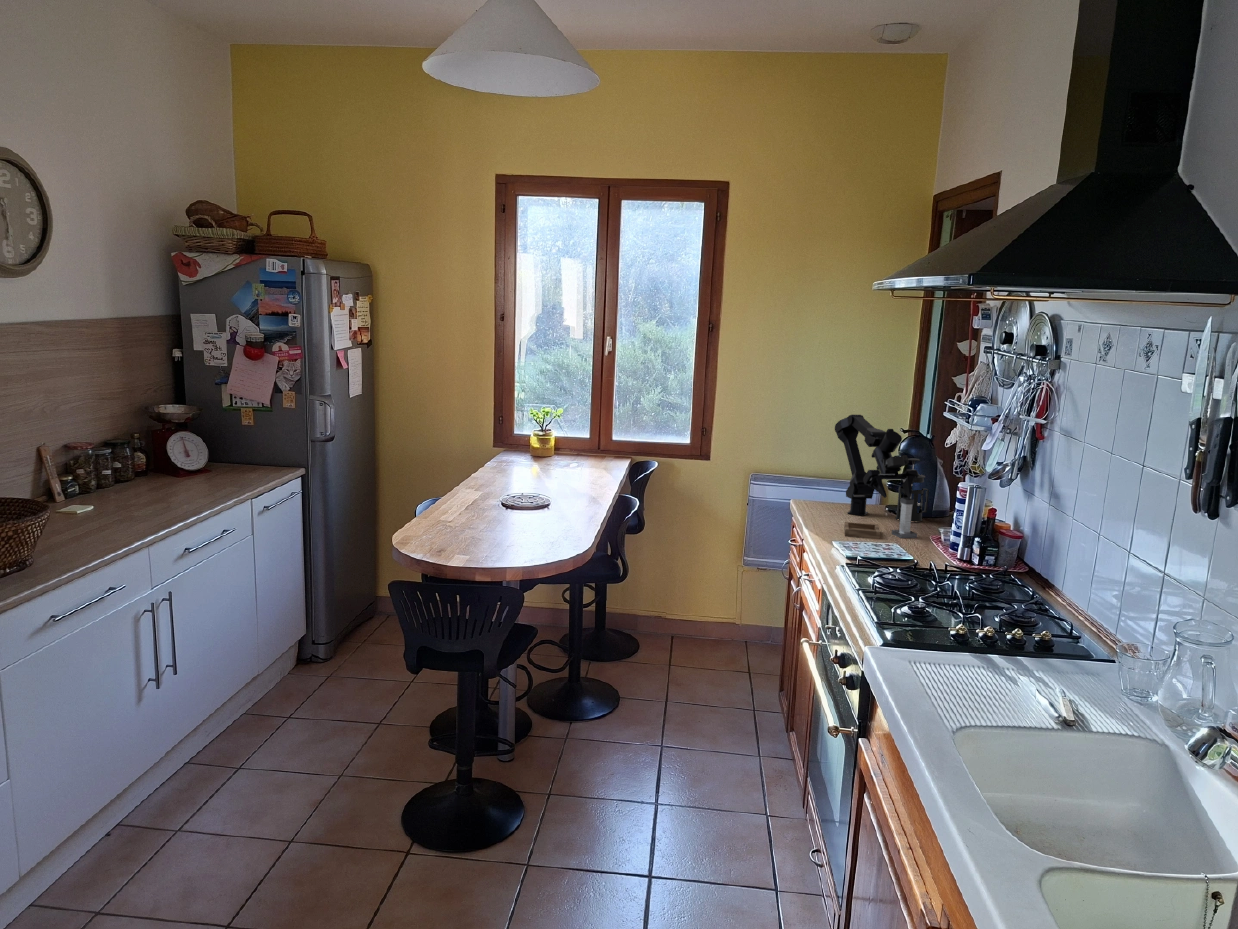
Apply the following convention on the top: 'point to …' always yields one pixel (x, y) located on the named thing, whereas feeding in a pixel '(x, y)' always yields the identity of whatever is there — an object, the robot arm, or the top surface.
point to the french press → (914, 498)
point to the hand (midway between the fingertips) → (897, 496)
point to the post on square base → (905, 520)
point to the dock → (862, 530)
